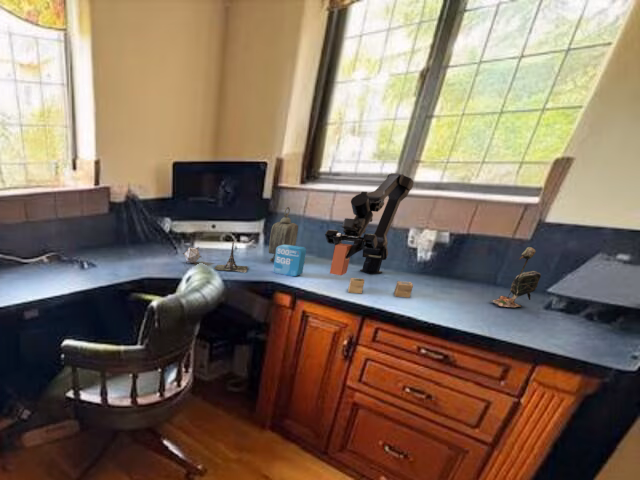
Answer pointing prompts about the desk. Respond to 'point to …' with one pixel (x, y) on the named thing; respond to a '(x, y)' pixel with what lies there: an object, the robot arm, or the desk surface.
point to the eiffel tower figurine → (232, 264)
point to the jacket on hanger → (282, 234)
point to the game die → (192, 255)
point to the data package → (289, 260)
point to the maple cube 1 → (356, 285)
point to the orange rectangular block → (340, 259)
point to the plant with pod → (521, 283)
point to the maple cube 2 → (403, 289)
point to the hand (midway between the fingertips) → (339, 257)
